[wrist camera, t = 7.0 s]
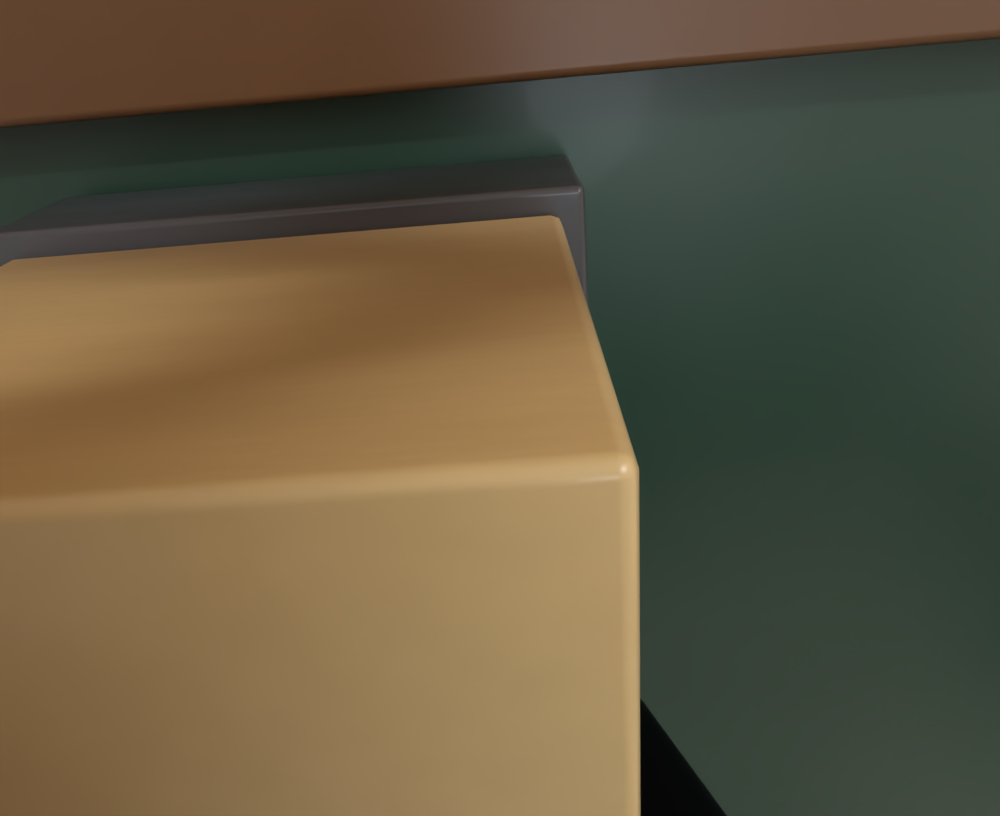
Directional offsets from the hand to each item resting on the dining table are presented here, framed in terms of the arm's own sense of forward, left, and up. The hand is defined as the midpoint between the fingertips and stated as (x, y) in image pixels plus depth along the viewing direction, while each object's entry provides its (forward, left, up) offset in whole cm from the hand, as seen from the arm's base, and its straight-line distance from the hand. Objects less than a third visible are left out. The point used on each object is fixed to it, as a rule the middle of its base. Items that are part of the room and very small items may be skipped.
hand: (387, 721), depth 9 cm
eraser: (0, 0, -1) cm, 1 cm away
